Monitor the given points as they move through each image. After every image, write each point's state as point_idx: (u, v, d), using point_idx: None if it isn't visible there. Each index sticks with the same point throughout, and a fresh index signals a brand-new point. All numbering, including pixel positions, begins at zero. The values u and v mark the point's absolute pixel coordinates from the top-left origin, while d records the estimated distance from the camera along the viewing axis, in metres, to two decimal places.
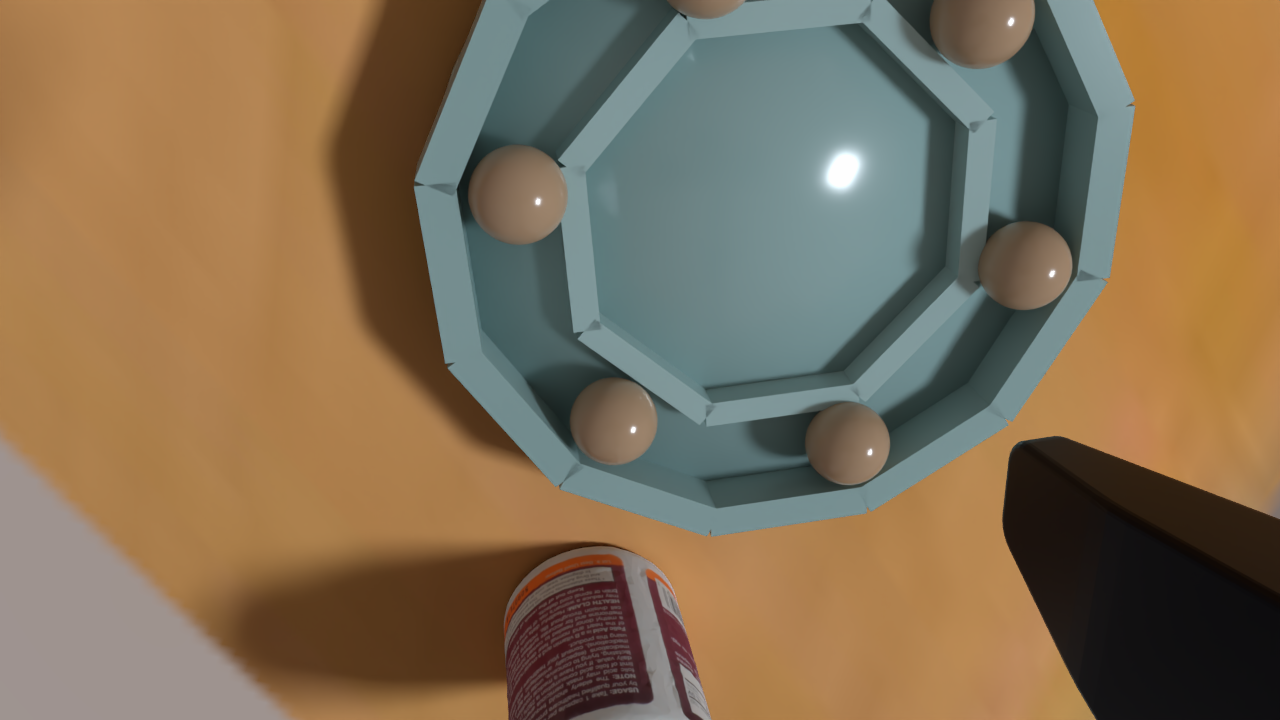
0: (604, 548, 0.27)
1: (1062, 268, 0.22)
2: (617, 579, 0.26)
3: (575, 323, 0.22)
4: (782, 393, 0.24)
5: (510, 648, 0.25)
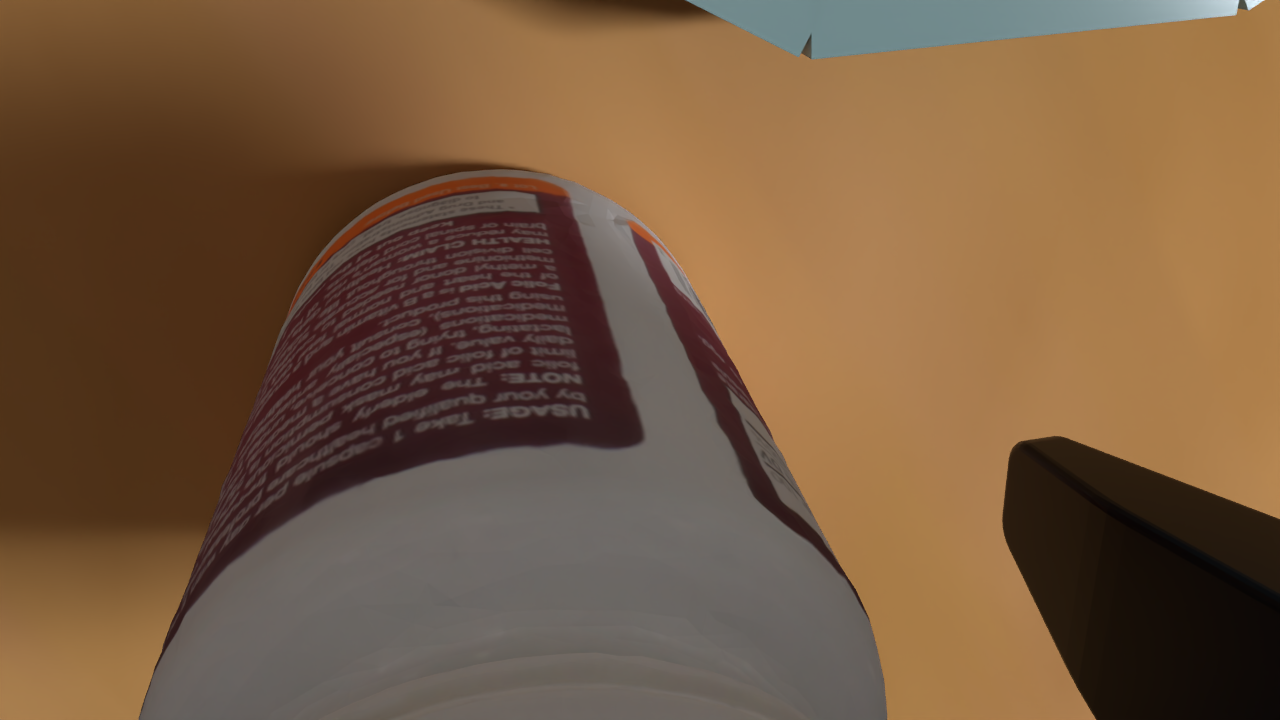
0: (524, 171, 0.11)
1: None
2: (549, 212, 0.09)
3: None
4: None
5: None
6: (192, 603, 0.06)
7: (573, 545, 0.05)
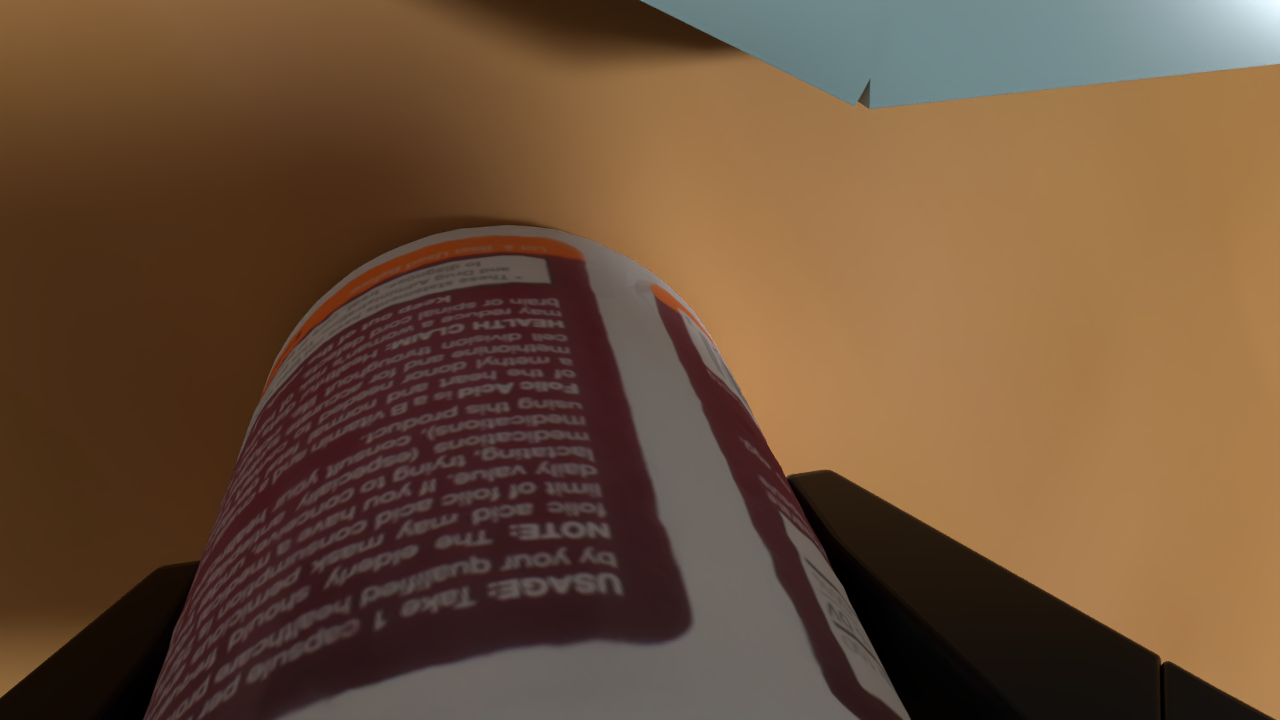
0: (532, 227, 0.09)
1: None
2: (562, 282, 0.08)
3: None
4: None
5: None
6: None
7: None
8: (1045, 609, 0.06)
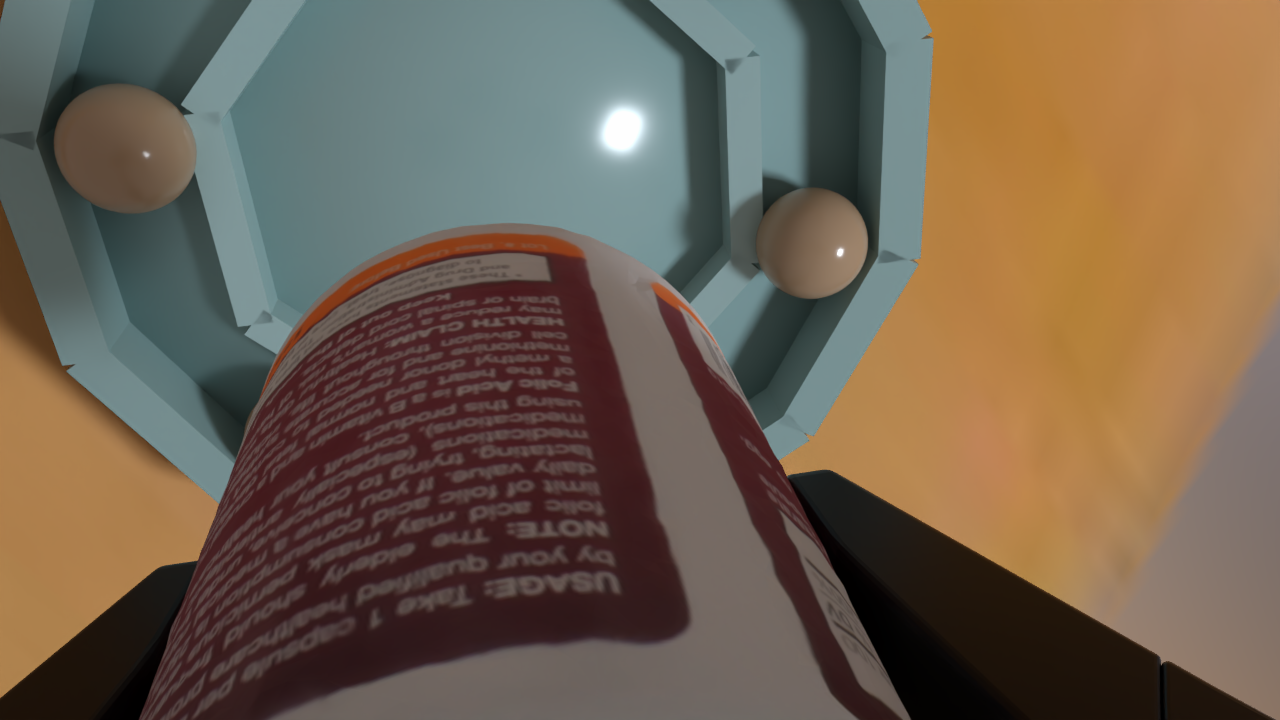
0: (531, 225, 0.09)
1: (849, 246, 0.18)
2: (561, 279, 0.08)
3: (239, 314, 0.18)
4: None
5: None
6: None
7: None
8: (1044, 609, 0.06)
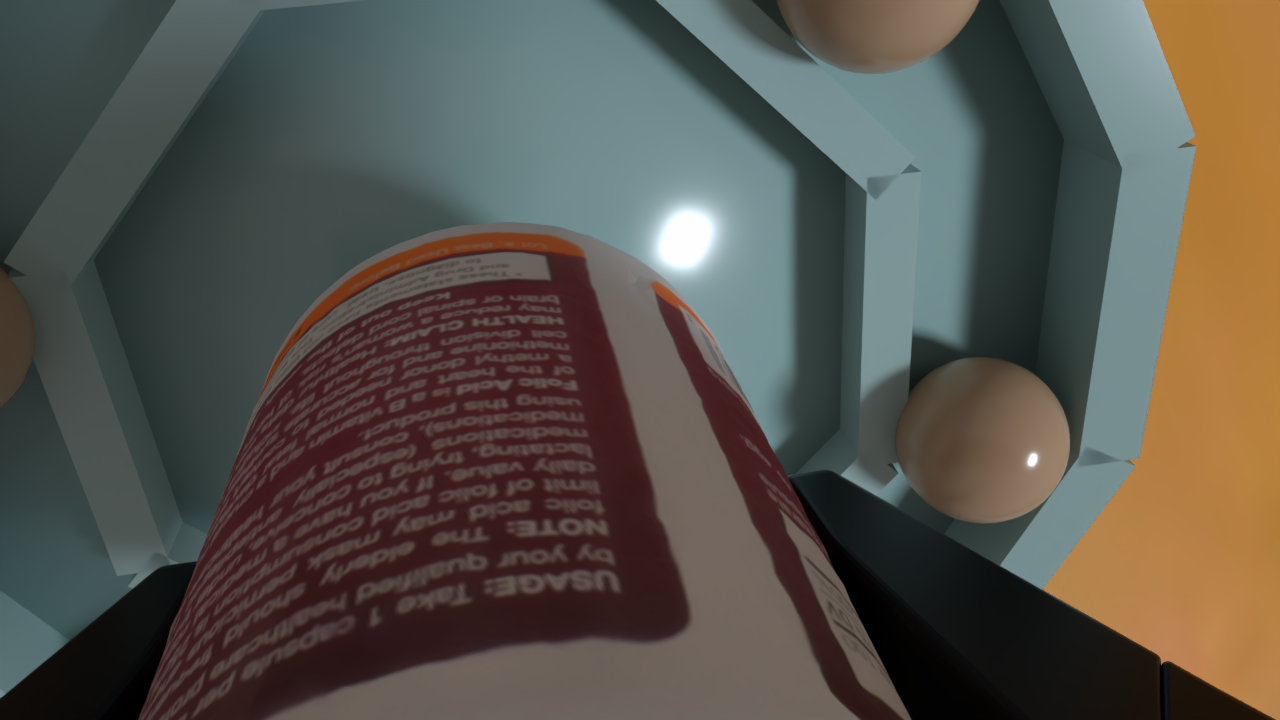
0: (532, 224, 0.09)
1: (1050, 457, 0.12)
2: (561, 278, 0.08)
3: (117, 559, 0.12)
4: None
5: None
6: None
7: None
8: (1044, 608, 0.06)
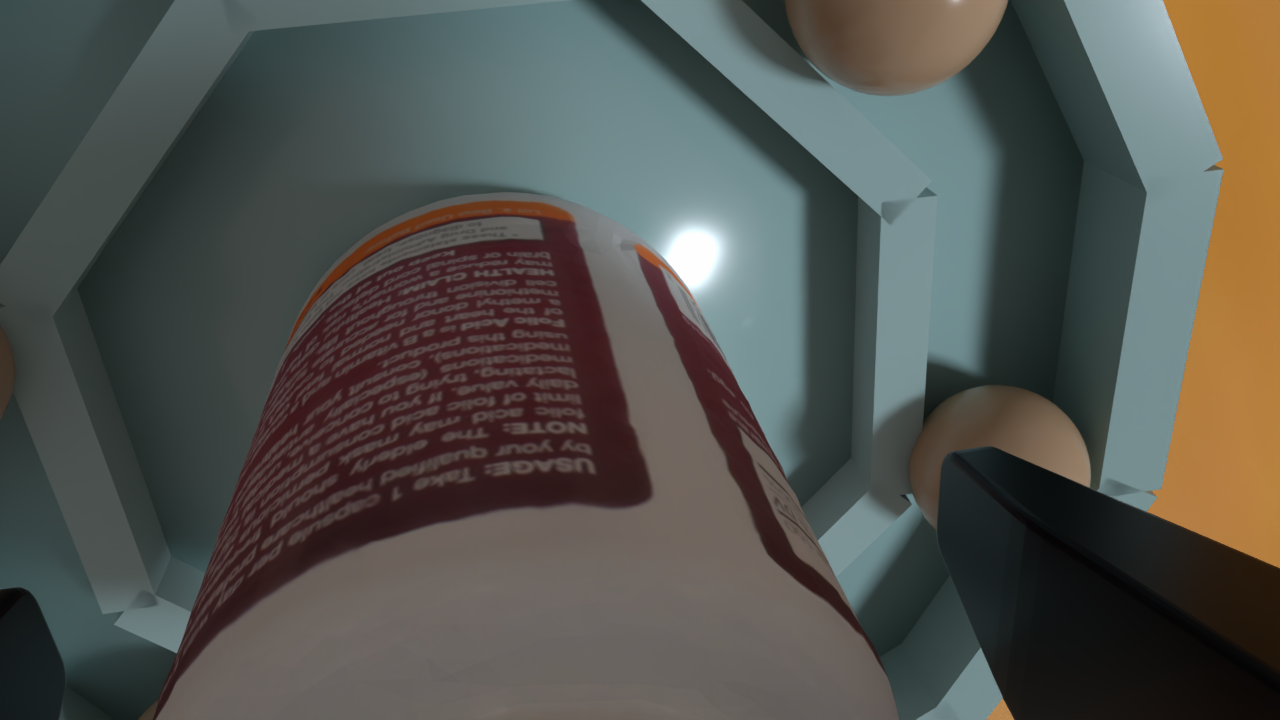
0: (528, 193, 0.10)
1: None
2: (554, 239, 0.09)
3: (103, 597, 0.11)
4: None
5: None
6: (183, 670, 0.06)
7: (580, 615, 0.05)
8: (1260, 573, 0.06)
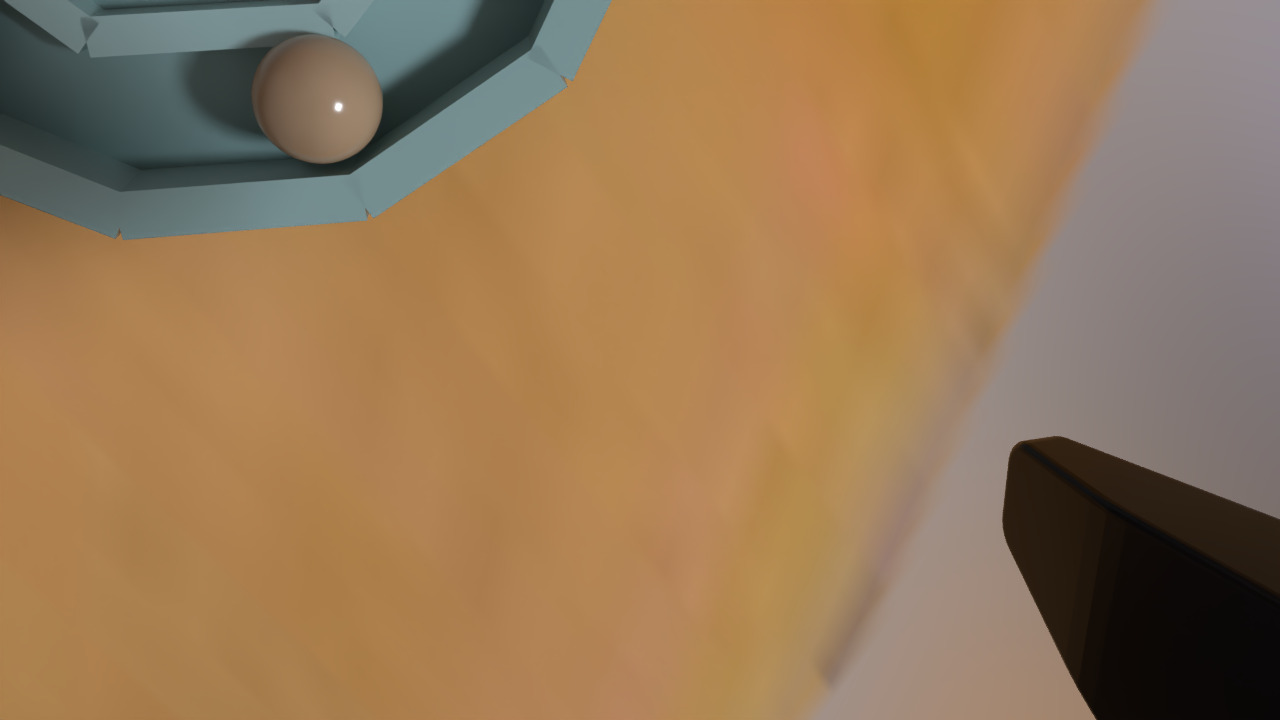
0: None
1: None
2: None
3: None
4: (205, 9, 0.16)
5: None
6: None
7: None
8: None
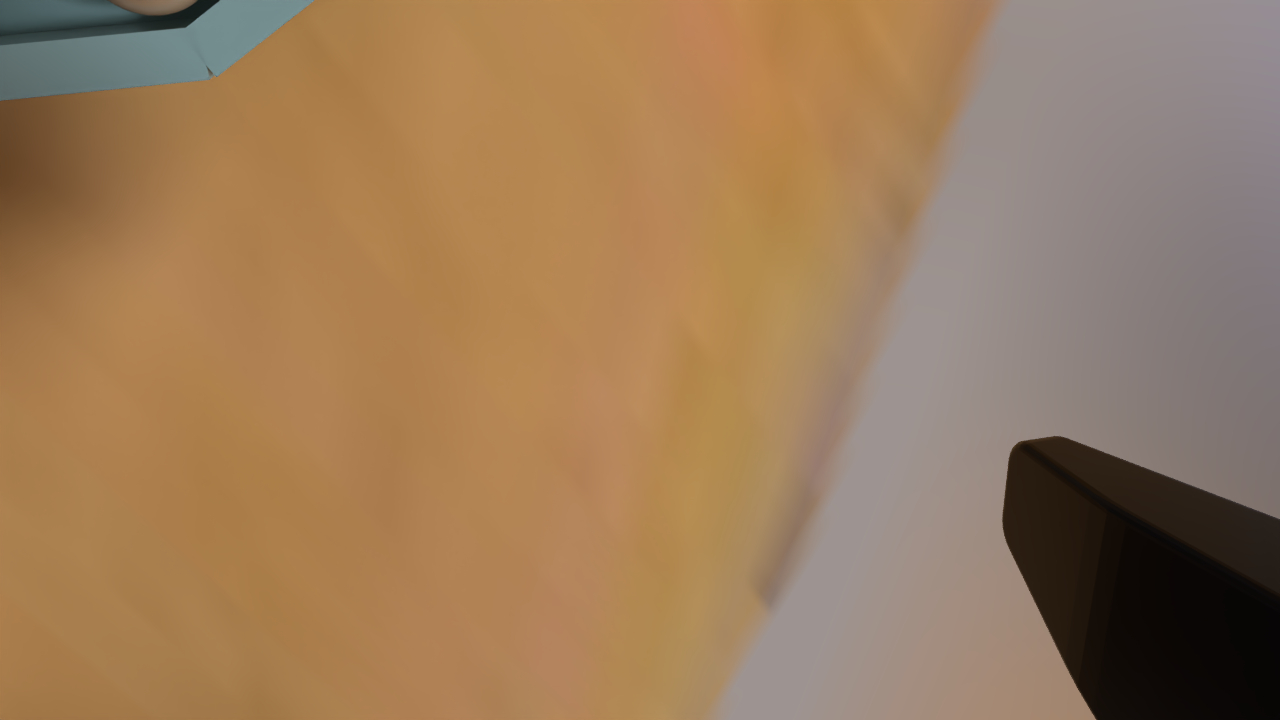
0: None
1: None
2: None
3: None
4: None
5: None
6: None
7: None
8: None
